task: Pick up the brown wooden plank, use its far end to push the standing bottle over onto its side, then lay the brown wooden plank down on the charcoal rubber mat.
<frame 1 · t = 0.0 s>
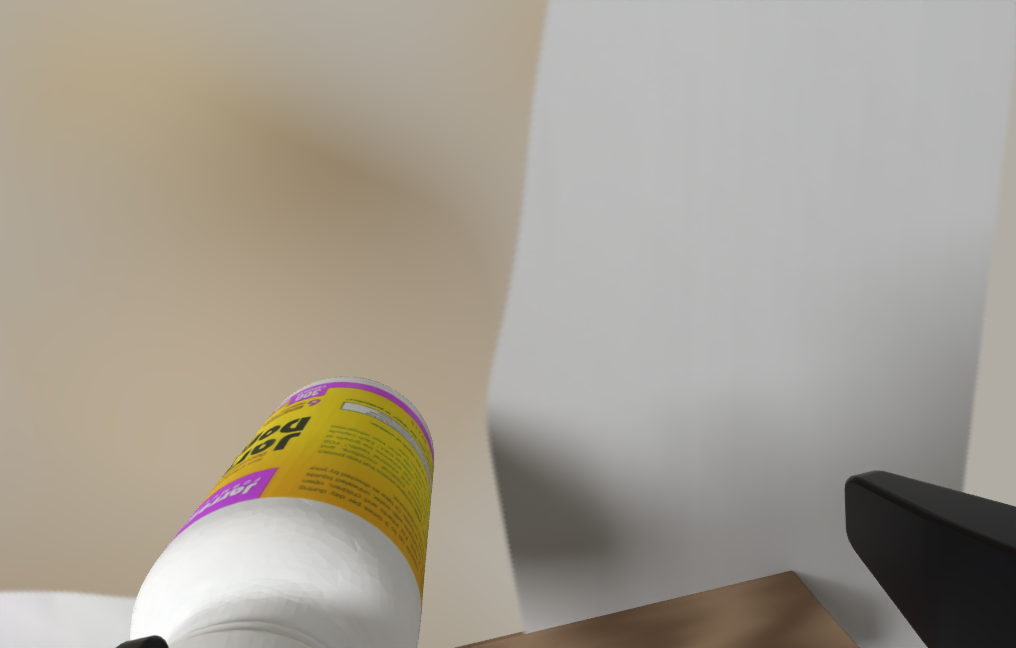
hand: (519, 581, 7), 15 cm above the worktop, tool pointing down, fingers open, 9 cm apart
supplement bottle: (352, 447, 22), on the worktop
brown wooden plank: (608, 632, 26), on the worktop
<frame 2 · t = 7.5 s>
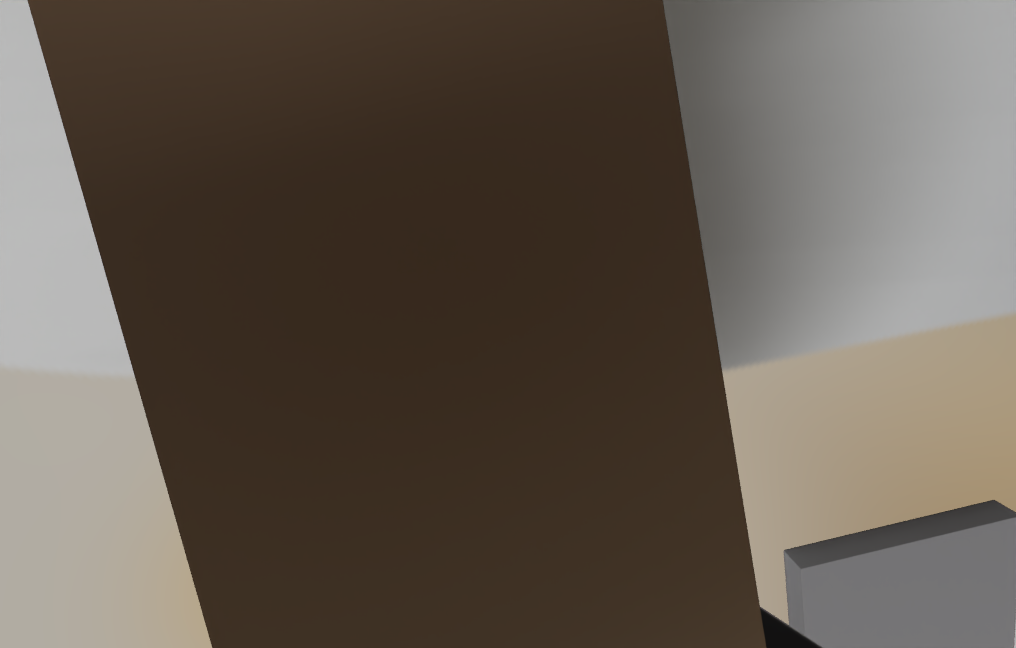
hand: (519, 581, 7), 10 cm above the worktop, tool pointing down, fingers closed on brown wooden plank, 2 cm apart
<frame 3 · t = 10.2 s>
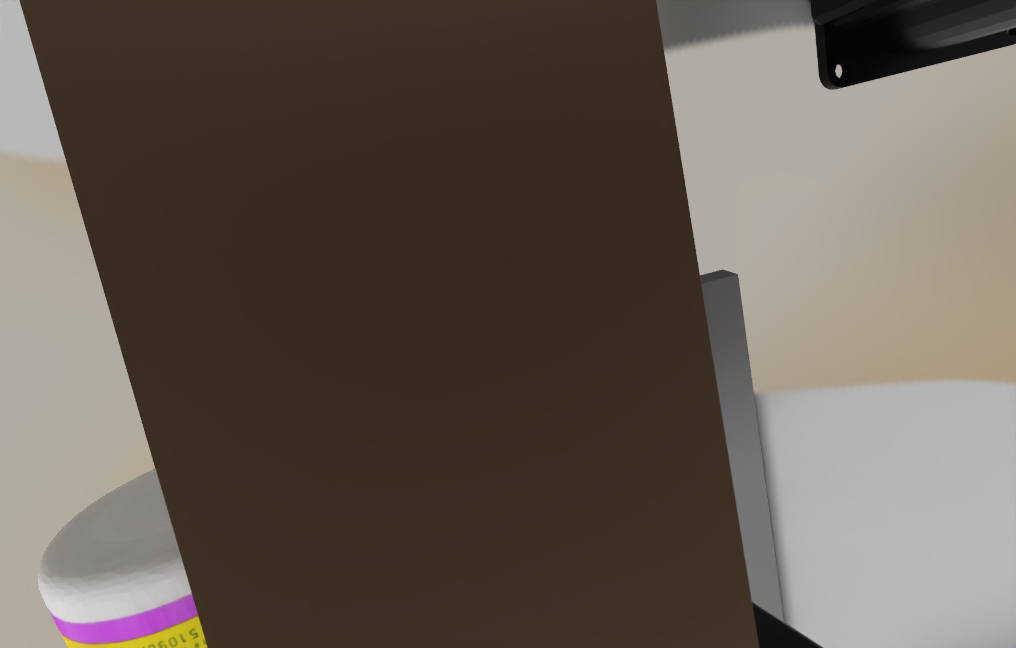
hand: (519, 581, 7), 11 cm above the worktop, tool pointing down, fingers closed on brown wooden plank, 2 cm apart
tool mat: (661, 571, 21), on the worktop
supplement bottle: (177, 482, 15), point 3 cm above the worktop
when the fingers open (4 cm above the worktop, at t = 12.7 s): brown wooden plank drops 2 cm, resting on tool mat.
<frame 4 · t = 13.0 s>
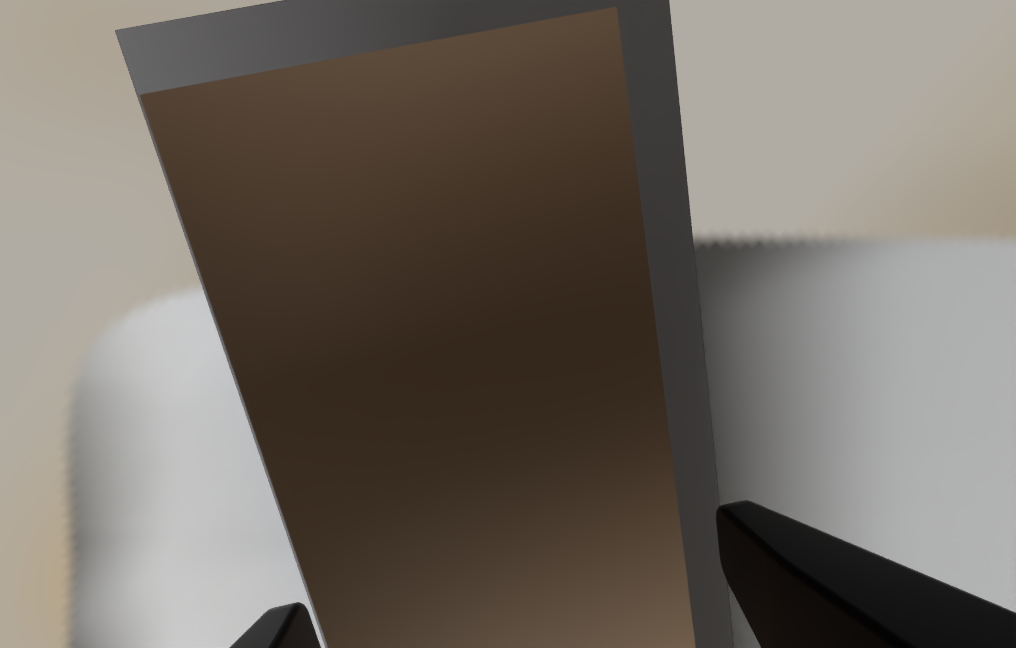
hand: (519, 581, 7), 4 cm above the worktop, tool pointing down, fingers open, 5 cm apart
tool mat: (522, 568, 12), on the worktop
brown wooden plank: (532, 612, 11), point 1 cm above the worktop, touching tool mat
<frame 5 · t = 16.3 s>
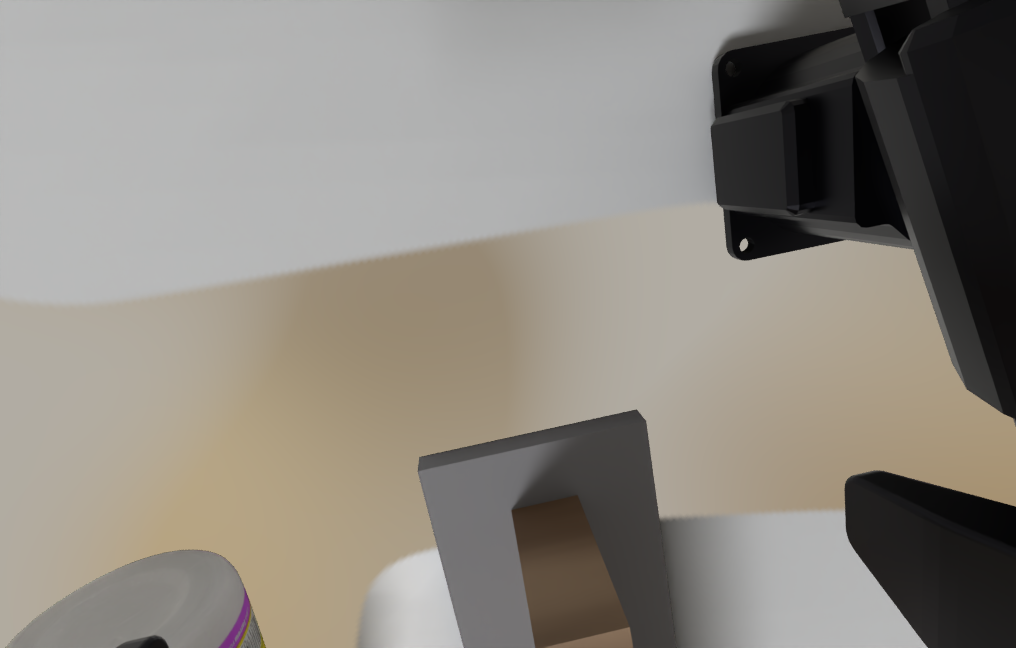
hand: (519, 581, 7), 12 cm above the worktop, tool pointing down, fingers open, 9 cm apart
supplement bottle: (113, 607, 16), point 3 cm above the worktop
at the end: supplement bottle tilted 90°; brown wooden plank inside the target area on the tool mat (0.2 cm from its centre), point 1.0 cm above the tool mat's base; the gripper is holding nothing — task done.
